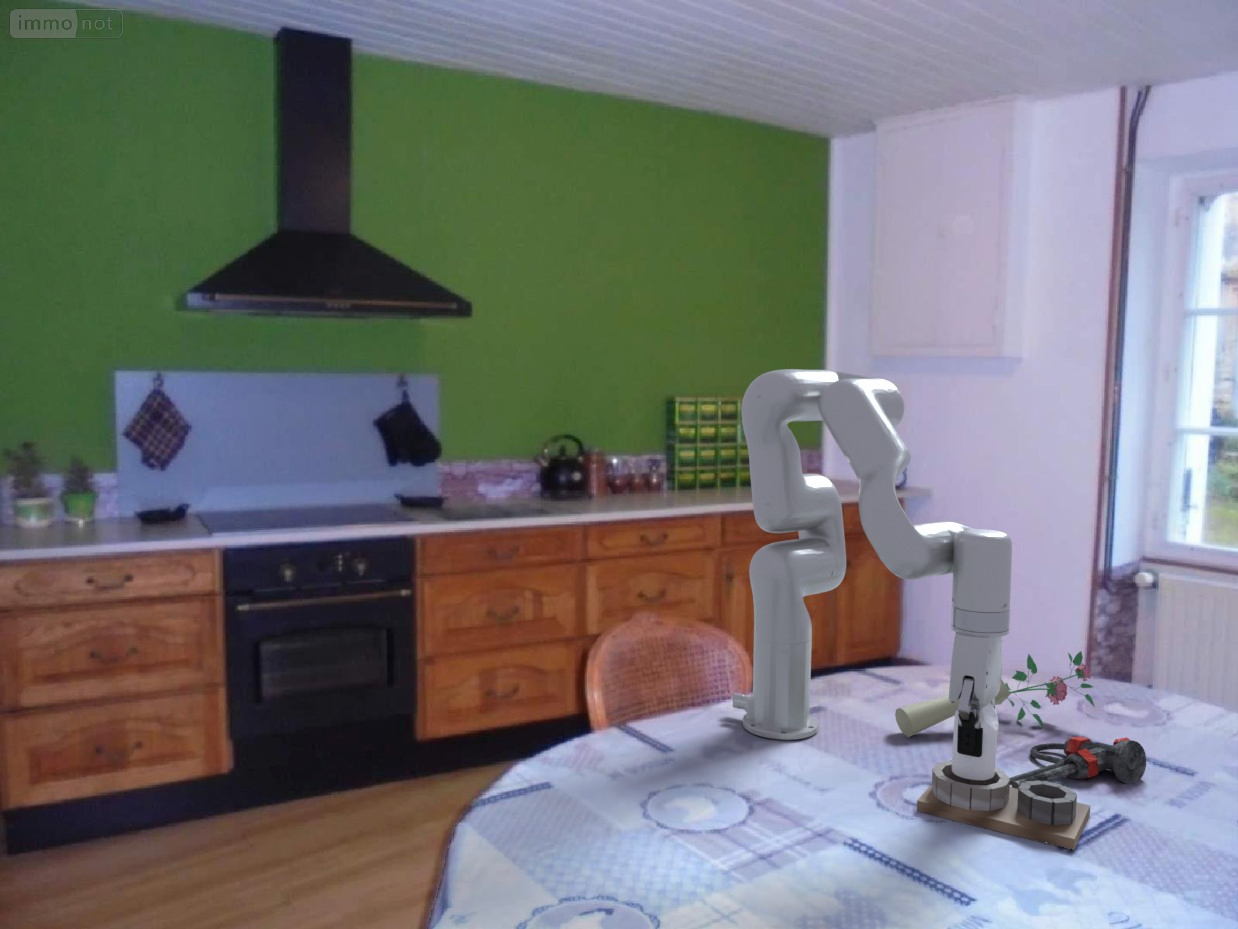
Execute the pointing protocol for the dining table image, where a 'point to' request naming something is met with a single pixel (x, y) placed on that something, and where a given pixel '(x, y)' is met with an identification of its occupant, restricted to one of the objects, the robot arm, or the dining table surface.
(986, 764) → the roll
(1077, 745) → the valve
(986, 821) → the fitting board
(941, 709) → the flower vase
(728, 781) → the dining table surface
